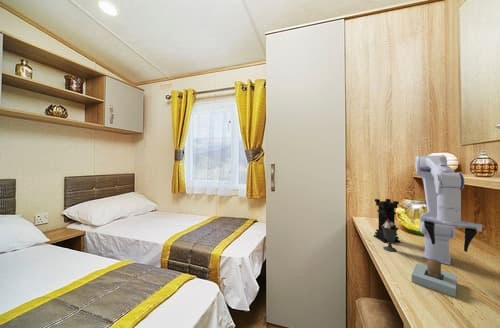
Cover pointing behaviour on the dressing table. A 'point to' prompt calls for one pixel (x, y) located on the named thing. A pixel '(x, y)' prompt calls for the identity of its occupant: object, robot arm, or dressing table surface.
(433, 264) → the peg
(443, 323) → the dressing table surface
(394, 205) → the chess piece
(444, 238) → the robot arm
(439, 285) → the socket block
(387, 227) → the sundae
